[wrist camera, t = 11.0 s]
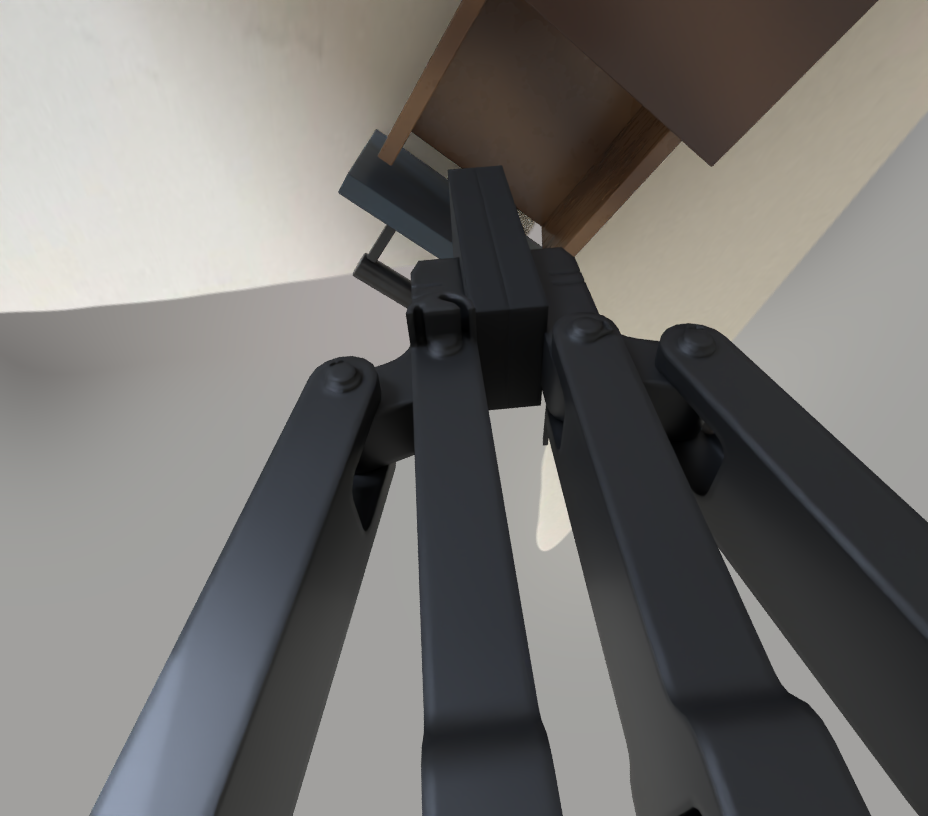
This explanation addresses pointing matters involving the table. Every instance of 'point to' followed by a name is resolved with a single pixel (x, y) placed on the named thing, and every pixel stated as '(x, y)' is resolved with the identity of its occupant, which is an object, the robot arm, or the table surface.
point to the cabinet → (704, 55)
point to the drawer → (506, 138)
